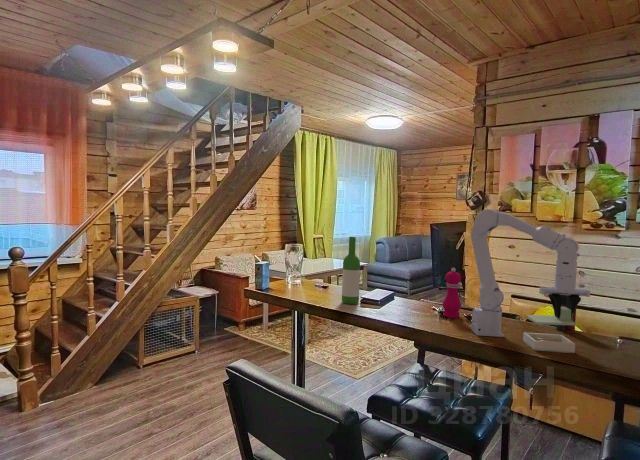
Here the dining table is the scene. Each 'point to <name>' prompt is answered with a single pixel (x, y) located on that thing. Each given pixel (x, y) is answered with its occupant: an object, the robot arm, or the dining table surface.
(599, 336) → the dining table surface
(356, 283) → the wine bottle
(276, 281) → the dining table surface
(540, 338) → the tub
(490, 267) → the robot arm
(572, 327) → the deodorant
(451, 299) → the pepper mill
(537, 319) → the lid
